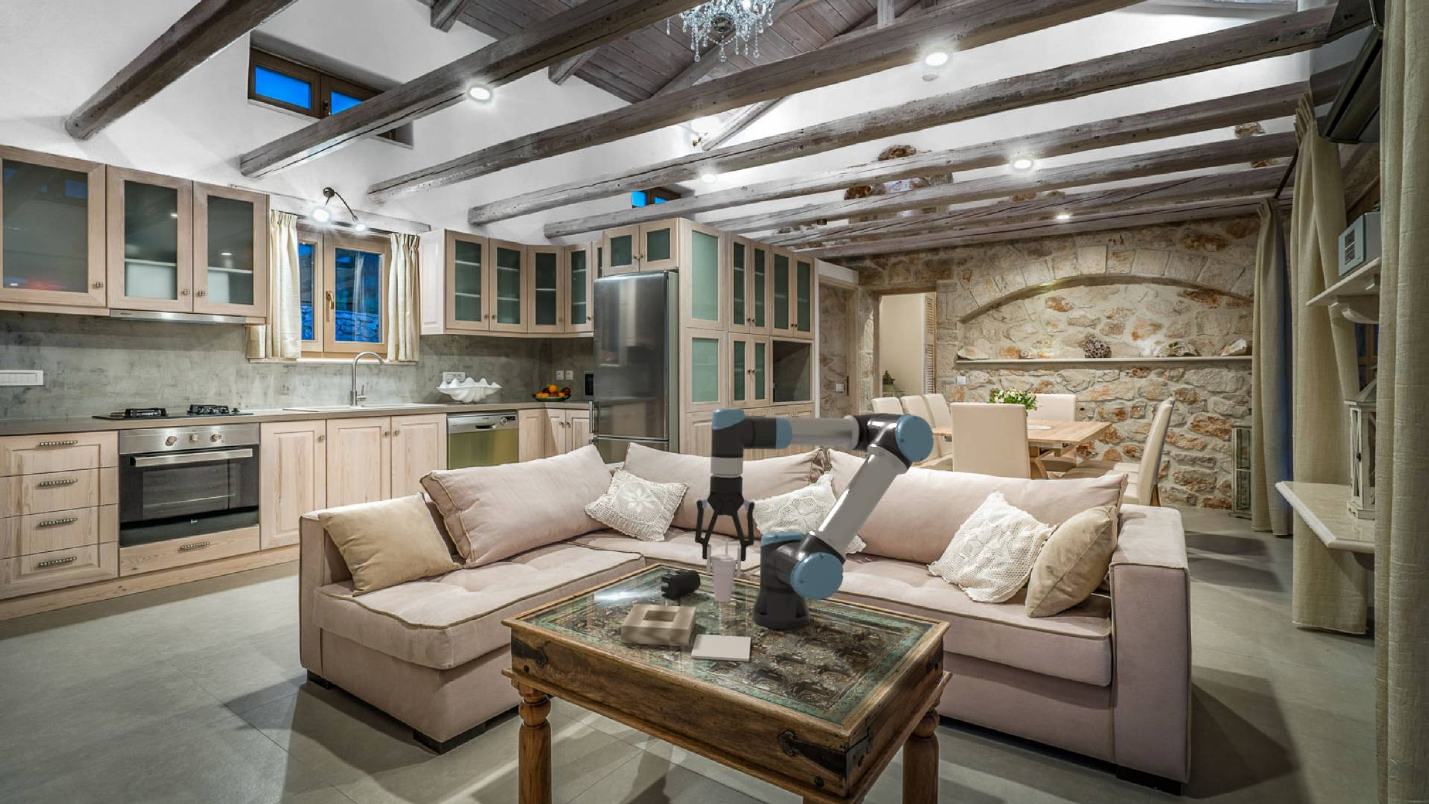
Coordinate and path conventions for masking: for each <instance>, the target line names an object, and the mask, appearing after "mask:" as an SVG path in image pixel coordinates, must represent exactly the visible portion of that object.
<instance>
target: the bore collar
mask: <svg viewBox="0 0 1429 804" xmlns="http://www.w3.org/2000/svg"><path fill="white" fill-rule="evenodd" d="M696 614H697V607H696V606H680V605H679V606H678V605H661V604H642V603H634V605H633V606H632V608H631V610H630V611H629V612H628V614H627V616H626V617H625V619H624V620H623V621H622V623H621V624H620V643H626V644H627V643H628V644H642V645H658V646H677V647H688V646H689V645H690V640H691V638H692V634H693V632H694V629H695V625H696V622H697V621H696V619H697V615H696Z"/></svg>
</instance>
